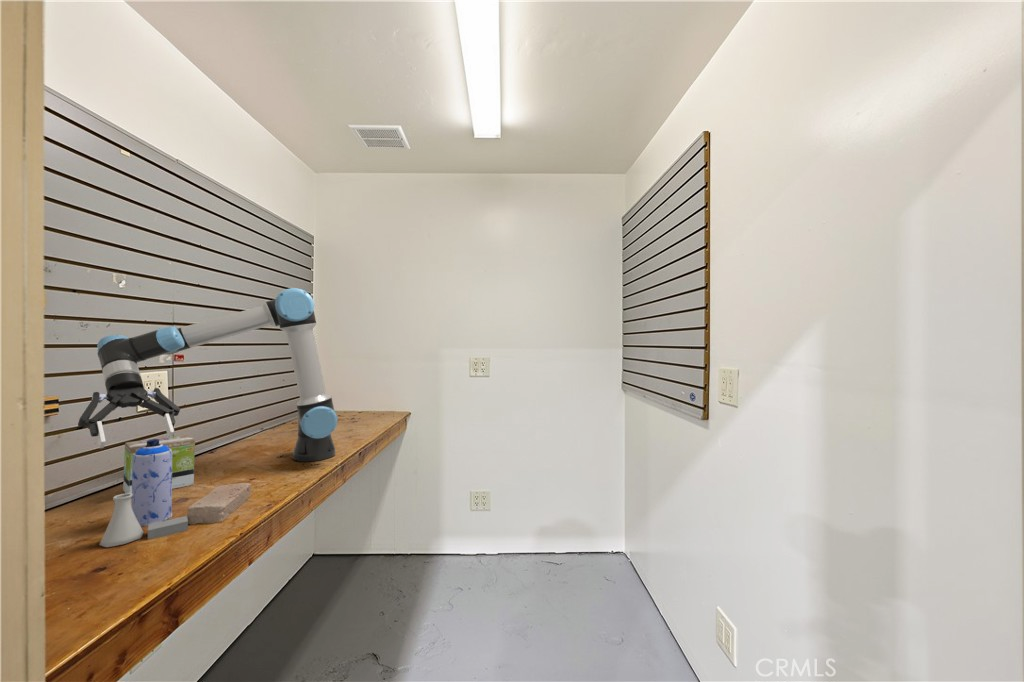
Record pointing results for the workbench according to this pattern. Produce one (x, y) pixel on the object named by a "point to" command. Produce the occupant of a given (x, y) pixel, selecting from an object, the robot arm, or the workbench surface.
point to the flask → (122, 523)
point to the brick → (219, 503)
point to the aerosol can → (152, 483)
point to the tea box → (180, 460)
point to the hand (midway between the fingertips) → (138, 439)
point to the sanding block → (167, 527)
